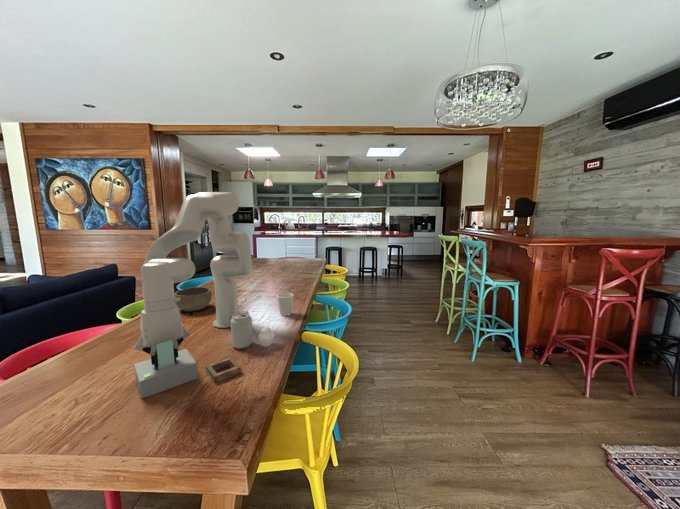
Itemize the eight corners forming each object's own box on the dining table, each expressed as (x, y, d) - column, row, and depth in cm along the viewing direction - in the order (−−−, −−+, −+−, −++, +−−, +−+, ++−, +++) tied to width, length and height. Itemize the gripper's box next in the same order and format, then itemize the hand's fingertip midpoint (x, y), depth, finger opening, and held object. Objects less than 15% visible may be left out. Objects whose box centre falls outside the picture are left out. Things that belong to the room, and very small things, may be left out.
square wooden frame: (231, 362, 91) (231, 357, 91) (241, 372, 85) (240, 366, 85) (206, 371, 86) (205, 365, 86) (214, 383, 80) (214, 376, 80)
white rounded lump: (276, 346, 103) (276, 328, 102) (260, 350, 100) (260, 332, 99) (272, 339, 108) (271, 323, 107) (256, 343, 105) (255, 326, 104)
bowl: (202, 314, 136) (201, 295, 135) (167, 314, 137) (165, 295, 135) (218, 303, 153) (217, 286, 152) (187, 303, 154) (185, 286, 152)
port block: (187, 362, 91) (186, 347, 90) (197, 378, 82) (196, 361, 82) (135, 379, 82) (134, 362, 81) (141, 398, 73) (139, 380, 72)
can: (256, 342, 106) (255, 312, 105) (244, 351, 99) (242, 319, 98) (240, 339, 109) (239, 310, 107) (227, 347, 102) (225, 317, 100)
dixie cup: (287, 310, 143) (287, 291, 142) (297, 314, 137) (297, 294, 136) (274, 314, 137) (273, 295, 136) (283, 318, 131) (282, 298, 130)
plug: (172, 366, 85) (169, 332, 83) (175, 371, 82) (172, 336, 80) (157, 370, 82) (153, 336, 80) (159, 376, 79) (156, 341, 77)
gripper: (188, 296, 87) (192, 349, 90) (122, 307, 76) (129, 368, 79) (195, 301, 82) (199, 358, 84) (124, 314, 71) (132, 379, 73)
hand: (165, 362), depth 81 cm, fingers closed on plug, 4 cm apart
